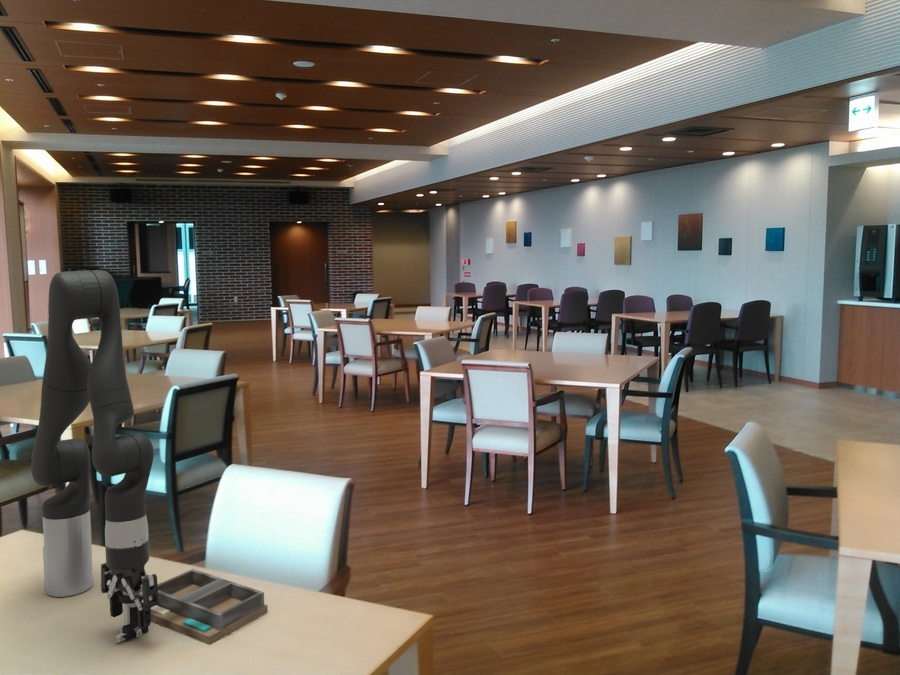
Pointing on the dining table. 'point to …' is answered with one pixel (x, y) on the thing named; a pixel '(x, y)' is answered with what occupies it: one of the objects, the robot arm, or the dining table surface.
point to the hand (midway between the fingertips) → (130, 621)
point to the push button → (130, 618)
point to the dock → (206, 605)
